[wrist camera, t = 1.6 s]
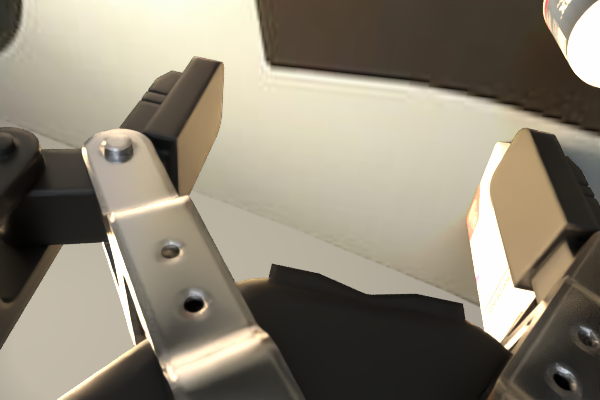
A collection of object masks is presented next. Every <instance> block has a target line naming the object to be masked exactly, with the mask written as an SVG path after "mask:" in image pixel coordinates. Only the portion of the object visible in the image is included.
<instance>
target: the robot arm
mask: <svg viewBox="0 0 600 400" xmlns="http://www.w3.org/2000/svg"><path fill="white" fill-rule="evenodd" d="M223 82H224V64H223V62H220V61H215V60H211V59H206V58H201V57H197V56H194V57H193V58H192V60H191V61H190V63H189V64H188V66H187V67H186V69H185V70H184V72H183V73H181V72H176V71H170V72H168V73H166V74H164V75H162V76H161V77H159V78H157V79H156V80H155V81H154V83H153V84H152V85H151V87H150V88H149V89H148V92H146V93H145V95H144V96H143V97H142V100H141V101H139V103H138V104H137V105H136V107H135V108H134V109H133V110H132V112H131V113H130V114H129V116H128V117H127V118H126V120H125V121H124V122H123V124H122V125H121V126H120V128H119V129H110V130H106V131H102V132H99V133H97V134H95V135H93V136H91V137H90V138H89V139H88V140H87V141H86V142H85V143H84V145H83V147H82V148H81V149H41V147H40V144H39V141H38V139H37V137H36V136H35V135H34V134H33V133H31V132H29V131H27V130H24V129H20V128H13V127H2V128H0V349H1V348H2V346H3V344H4V343H5V341H6V339H7V338H8V336H9V334H10V332H11V331H12V329H13V327H14V326H15V324H16V322H17V321H18V319H19V317H20V316H21V314H22V312H23V311H24V309H25V307H26V306H27V304H28V302H29V301H30V299H31V297H32V296H33V294H34V292H35V291H36V289H37V287H38V286H39V284H40V282H41V281H42V279H43V277H44V276H45V274H46V272H47V271H48V269H49V267H50V266H51V264H52V262H53V261H54V259H55V257H56V256H57V254H58V252H59V250H60V249H61V247H62V246H63V244H80V243H97V242H102V244H103V247H104V250H105V253H106V256H107V259H108V262H109V266H110V269H111V272H112V275H113V278H114V281H115V284H116V287H117V289H118V293H119V296H120V299H121V302H122V305H123V308H124V312H125V316H126V320H127V324H128V327H129V331H130V334H131V338H132V341H133V343H134V348H132V349H131V350H129V351H128V352H126V353H125V354H123V355H122V356H120V357H119V358H117V359H116V360H115V361H113V362H112V363H110V364H109V365H107V366H106V367H104V368H103V369H102V370H100V371H99V372H97V373H96V374H94V375H93V376H91V377H90V378H88V379H87V380H85V381H84V382H83V383H82V384H80V385H78V386H77V387H75V388H74V389H72V390H71V391H69V392H68V393H66V394H65V395H64V396H62V397H61V398H59V399H58V400H600V205H599V203H598V201H597V199H595V198H594V196H595V195H594V193H593V191H592V189H591V188H590V187H588V185H589V184H588V182H587V180H586V178H585V176H584V174H583V172H582V170H581V169H580V168H579V167H578V166H577V165H576V164H575V163H574V162H573V161H572V160H571V159H570V158H569V157H568V156H565V154H564V152H563V150H562V148H561V146H560V144H559V142H558V140H557V138H556V136H555V135H554V134H551V133H547V132H542V131H537V130H533V129H528V128H523V129H521V130H520V131H519V132H518V133H517V134H516V136H515V138H514V139H513V141H512V143H511V144H510V146H509V148H508V149H507V151H506V152H505V154H504V156H503V157H502V159H501V161H500V162H499V164H498V166H497V167H496V169H495V171H494V173H493V175H492V177H491V181H490V186H489V194H490V198H491V202H492V206H493V209H494V213H495V217H496V221H497V225H498V229H499V233H500V237H501V240H502V244H503V248H504V252H505V256H506V260H507V264H508V267H509V271H510V275H511V279H512V283H513V287H514V288H518V289H523V290H527V291H532V292H534V294H535V298H534V299H533V300H532V301H531V302H530V303H529V304H528V305H527V307H526V308H525V309H524V311H523V312H522V314H521V315H520V316H519V318H518V319H517V320H516V322H515V323H514V324H513V326H512V327H511V329H510V330H509V331H508V333H507V334H506V335H505V337H504V338H503V339H502V341H501V342H499V341H498V340H496V339H495V338H494V337H493V336H492V335H490V334H489V333H487V332H486V331H484V330H483V329H481V328H480V327H478V326H476V325H474V324H472V323H470V322H468V321H466V320H465V315H464V308H463V304H462V303H457V302H452V301H448V300H442V299H438V298H433V297H429V296H423V295H419V294H385V295H369V294H365V293H362V292H360V291H357V290H355V289H353V288H351V287H348V286H346V285H344V284H342V283H339V282H337V281H335V280H332V279H330V278H328V277H326V276H323V275H321V274H319V273H314V272H309V271H304V270H299V269H295V268H290V267H285V266H280V265H276V264H272V266H271V270H270V274H269V278H256V279H249V280H244V281H240V282H236V283H235V281H234V279H233V277H232V275H231V273H230V271H229V270H228V268H227V266H226V264H225V262H224V260H223V258H222V256H221V255H220V253H219V251H218V249H217V247H216V245H215V243H214V241H213V239H212V237H211V236H210V234H209V232H208V230H207V228H206V226H205V224H204V222H203V220H202V219H201V217H200V215H199V213H198V211H197V209H196V207H195V205H194V204H193V202H192V200H191V199H190V197H189V194H190V192H191V190H192V188H193V186H194V184H195V182H196V180H197V177H198V175H199V173H200V171H201V169H202V167H203V165H204V162H205V160H206V158H207V156H208V154H209V152H210V149H211V147H212V145H213V143H214V141H215V139H216V137H217V134H218V131H219V128H220V124H221V118H222V103H223Z"/></svg>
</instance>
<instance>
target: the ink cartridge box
mask: <svg viewBox="0 0 600 400" xmlns="http://www.w3.org/2000/svg"><path fill="white" fill-rule="evenodd" d="M510 144H511V143H503V142H499V143H497V144H496V145H495V148H494V151H493V153H492V156H491V158H490V160H489V163H488V165H487V168H486V170H485V173H484V175H483V178H482V181H481V183H480V186H479V188H478V191H477V194H476V196H475V198H474V201H473V204H472V206H471V209H470V212H469V214H468V217H467V219H466V220H467V226H468V232H469V238H470V245H471V250H472V257H473V263H474V269H475V275H476V281H477V287H478V293H479V298H480V305H481V311H482V317H483V323H484V329H485V331H486V332H487V333H489V334H490V335H492V336H493V337H494V338H495V339H496V340H498V341H499V342H501V341H502V339H503V338H504V337H505V335H506V334H507V333H508V331H509V330H510V329H511V327H512V326H513V324H514V323H515V322H516V320H517V319H518V318H519V316H520V315H521V314H522V312H523V311H524V309H525V308H526V307H527V305H528V304H529V303H530V302H531V301H532V300H533V299H534V298H535V294H534V292H532V291H527V290H523V289H518V288H514V287H513V283H512V279H511V275H510V271H509V267H508V264H507V260H506V256H505V252H504V248H503V244H502V240H501V237H500V233H499V229H498V225H497V221H496V217H495V213H494V209H493V206H492V202H491V198H490V194H489V186H490V181H491V177H492V175H493V173H494V171H495V169H496V167H497V166H498V164H499V162H500V161H501V159H502V157H503V156H504V154H505V152H506V151H507V149H508V148H509V146H510Z"/></svg>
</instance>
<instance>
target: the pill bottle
mask: <svg viewBox="0 0 600 400" xmlns="http://www.w3.org/2000/svg"><path fill="white" fill-rule="evenodd" d="M543 13H544V18H545V21H546V24H547V26H548V28H549V29H550V31H551V33H552V34H553V36H554V38H555V39H556V41H557V43H558V45H559V47H560V48H561V50H562V52H563V54H564V55H565V57H566V59H567V61H568V63H569V65H570V66H571V68H572V69H573V71H574V72H575V73H576V75H577V76H578V77H579V78H580V79H582V80H583V81H585V82H586V83H588V84H590V85H593V86H596V87H599V88H600V0H544V4H543Z"/></svg>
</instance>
